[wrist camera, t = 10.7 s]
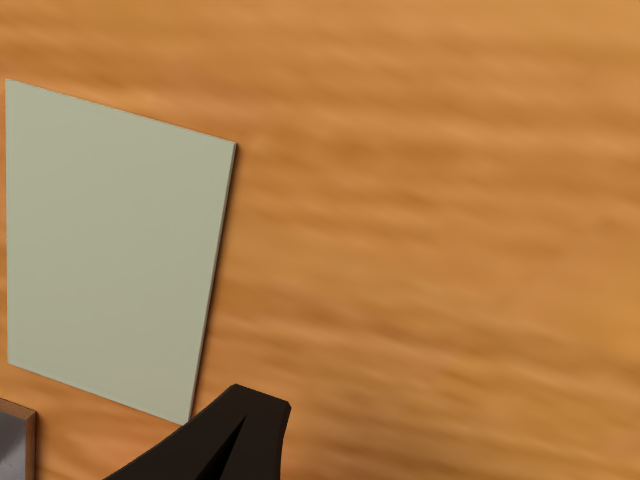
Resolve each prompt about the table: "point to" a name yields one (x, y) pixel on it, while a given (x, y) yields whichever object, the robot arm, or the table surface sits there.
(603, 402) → the table surface
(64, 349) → the plate
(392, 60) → the table surface
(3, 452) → the pivot plate
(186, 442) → the robot arm
